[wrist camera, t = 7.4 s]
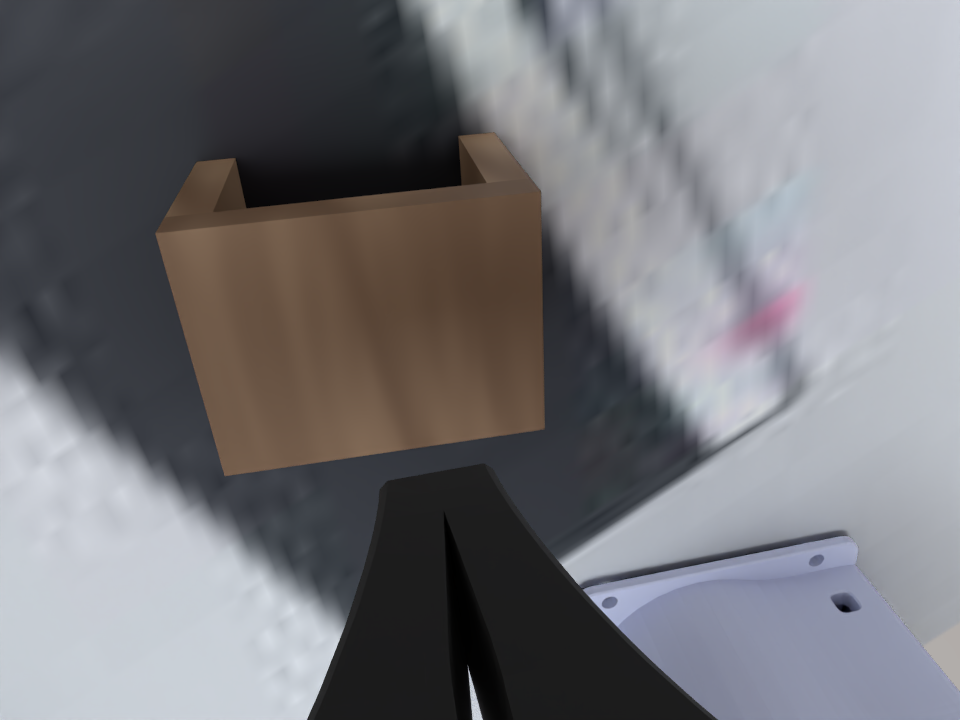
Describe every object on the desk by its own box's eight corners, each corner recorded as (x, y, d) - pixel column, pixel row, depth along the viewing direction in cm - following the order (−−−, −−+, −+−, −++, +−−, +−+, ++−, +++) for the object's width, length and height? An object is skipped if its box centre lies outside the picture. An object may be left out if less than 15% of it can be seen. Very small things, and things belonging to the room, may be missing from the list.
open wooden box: (541, 191, 13) (155, 233, 12) (544, 429, 16) (224, 475, 15) (494, 132, 17) (196, 161, 16) (503, 331, 19) (246, 364, 19)
